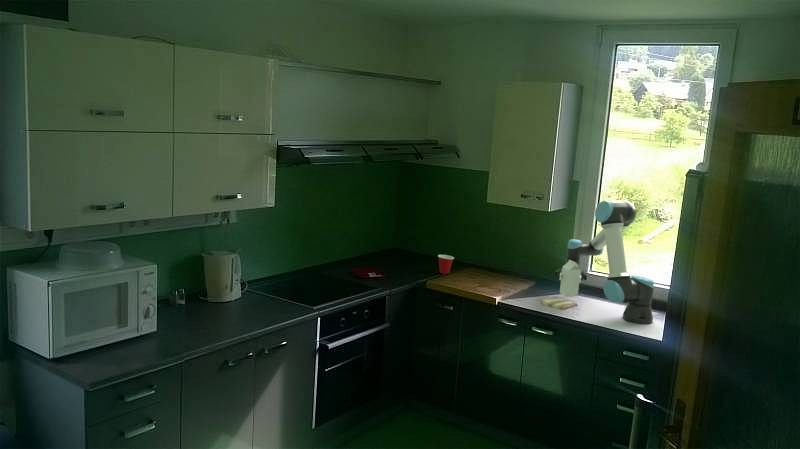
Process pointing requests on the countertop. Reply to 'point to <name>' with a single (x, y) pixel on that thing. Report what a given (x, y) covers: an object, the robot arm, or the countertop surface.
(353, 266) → the countertop surface
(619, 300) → the robot arm
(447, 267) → the plastic cup
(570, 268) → the milk carton
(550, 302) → the yellow ridged slab
